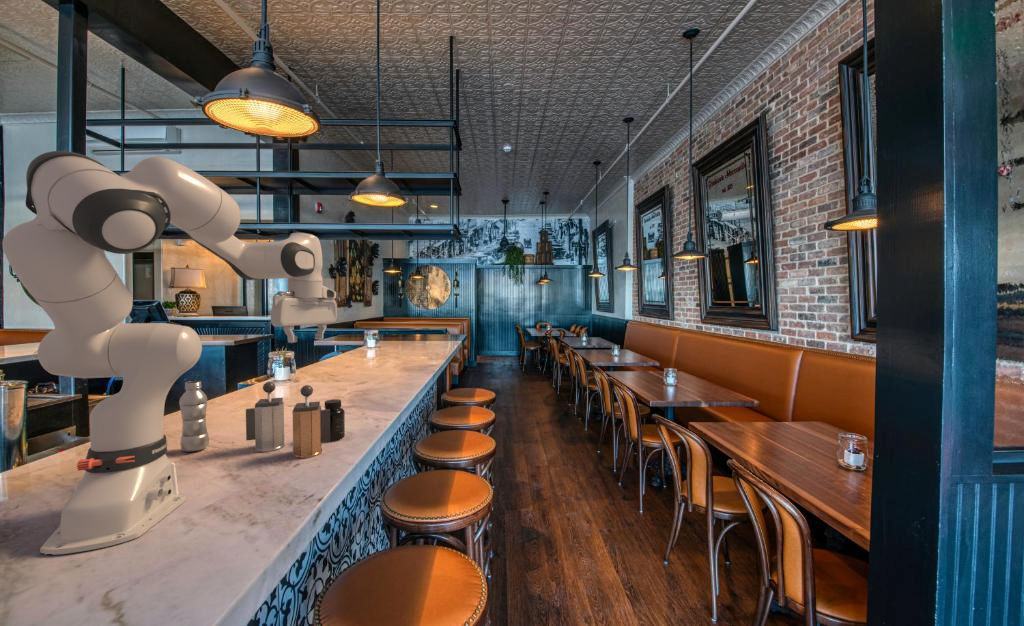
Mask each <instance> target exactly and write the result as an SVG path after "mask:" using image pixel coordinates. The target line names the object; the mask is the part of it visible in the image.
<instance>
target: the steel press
mask: <svg viewBox="0 0 1024 626" xmlns="http://www.w3.org/2000/svg"><path fill="white" fill-rule="evenodd" d="M254 404H255V405H254V407H252V408H246V409H245V435H246V437H245V439H246V441H253V440H254V443H255V444H254V446H255V452H258V453H268V452H269V453H270V452H275V451H278V450H280V449H282V448H284V447H285V443H286V442H285V408H284V407H285V405H284V404H285V403H284V397H273V398H272V397H271V401H268V398H260V399H258V401H257V402H255V403H254Z"/></svg>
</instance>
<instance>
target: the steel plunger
mask: <svg viewBox="0 0 1024 626" xmlns="http://www.w3.org/2000/svg"><path fill="white" fill-rule="evenodd" d="M275 389H276V384H275V383H274V382H273V381H267V382H265V383H264V384H263V385H262V390H263V392H264V393H266V395H267V399H268V401H271V398H272V392H274V391H275Z"/></svg>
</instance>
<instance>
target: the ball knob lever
mask: <svg viewBox="0 0 1024 626" xmlns="http://www.w3.org/2000/svg"><path fill="white" fill-rule="evenodd" d="M313 393H314V389H313V386H311V385H308V384H305V385H303V386H302V387H301V389H300V394H301V396H303V397H305V398H304V400H305V401H304V403H305V406H308V405H309V402H310V396H312V394H313Z"/></svg>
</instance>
